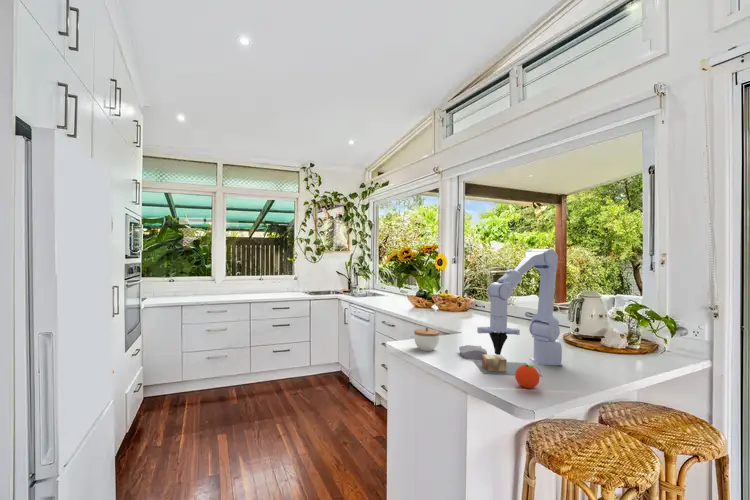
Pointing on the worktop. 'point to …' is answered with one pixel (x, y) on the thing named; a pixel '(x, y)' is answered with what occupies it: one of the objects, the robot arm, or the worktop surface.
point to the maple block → (494, 362)
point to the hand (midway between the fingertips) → (497, 354)
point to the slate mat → (510, 370)
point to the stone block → (472, 352)
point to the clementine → (527, 376)
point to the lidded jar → (426, 339)
